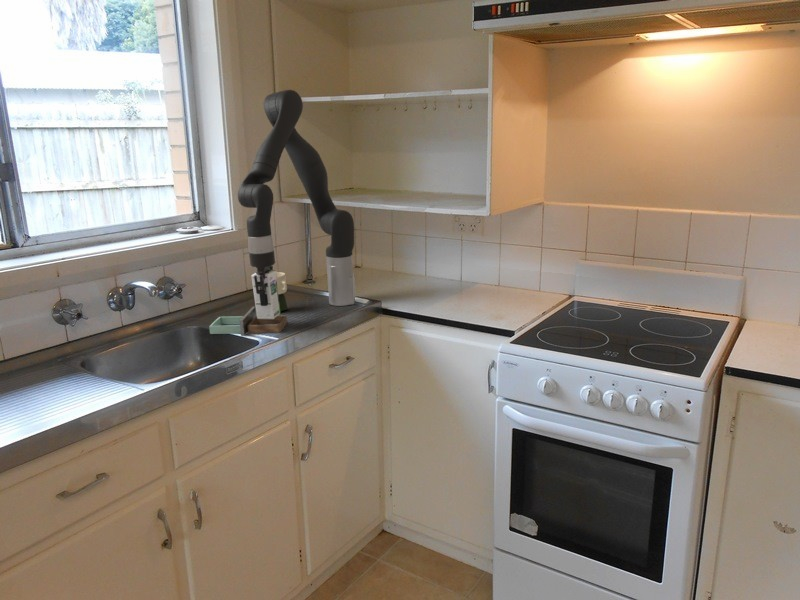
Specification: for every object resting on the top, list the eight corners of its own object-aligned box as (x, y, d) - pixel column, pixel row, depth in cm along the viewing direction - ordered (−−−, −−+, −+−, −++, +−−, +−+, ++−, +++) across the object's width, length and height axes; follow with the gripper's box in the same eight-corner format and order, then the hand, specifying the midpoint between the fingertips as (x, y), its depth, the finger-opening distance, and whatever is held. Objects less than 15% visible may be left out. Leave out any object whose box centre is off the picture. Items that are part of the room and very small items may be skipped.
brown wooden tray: (287, 322, 203) (286, 315, 202) (280, 332, 193) (279, 325, 193) (256, 323, 203) (255, 315, 203) (248, 333, 194) (247, 325, 193)
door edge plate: (257, 321, 206) (255, 306, 204) (244, 335, 191) (242, 320, 190) (254, 321, 206) (252, 306, 204) (241, 336, 191) (239, 320, 190)
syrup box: (274, 319, 194) (269, 274, 190) (256, 319, 195) (250, 274, 191) (280, 313, 199) (276, 269, 195) (263, 313, 201) (258, 269, 196)
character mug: (296, 311, 215) (293, 274, 212) (280, 316, 210) (277, 278, 207) (276, 306, 222) (273, 270, 219) (260, 311, 217) (256, 274, 213)
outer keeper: (250, 323, 203) (249, 316, 203) (241, 333, 194) (241, 325, 193) (220, 324, 204) (219, 316, 203) (210, 333, 194) (209, 326, 194)
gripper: (267, 254, 184) (273, 308, 189) (278, 244, 198) (283, 295, 203) (242, 255, 185) (249, 309, 189) (255, 245, 198) (260, 296, 203)
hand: (267, 302), depth 196 cm, fingers closed on syrup box, 6 cm apart
